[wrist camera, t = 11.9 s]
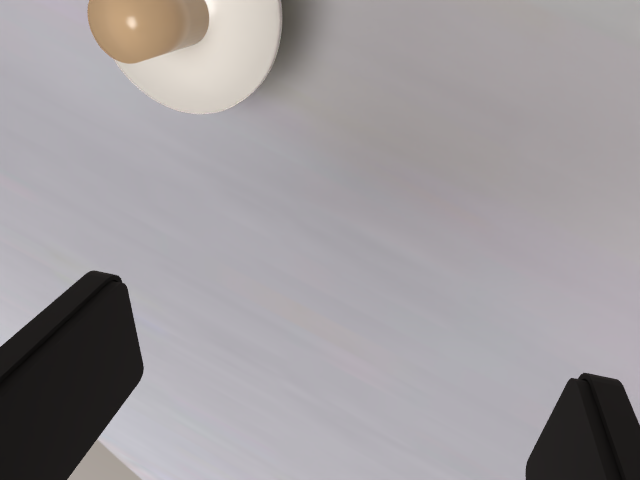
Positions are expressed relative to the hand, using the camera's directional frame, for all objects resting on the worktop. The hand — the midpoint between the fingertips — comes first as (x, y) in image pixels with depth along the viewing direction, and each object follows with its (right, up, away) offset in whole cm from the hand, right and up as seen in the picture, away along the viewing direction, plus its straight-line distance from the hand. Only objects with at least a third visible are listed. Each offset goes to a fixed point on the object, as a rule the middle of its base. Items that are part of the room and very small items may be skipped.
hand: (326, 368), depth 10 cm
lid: (-8, +17, +18) cm, 26 cm away
